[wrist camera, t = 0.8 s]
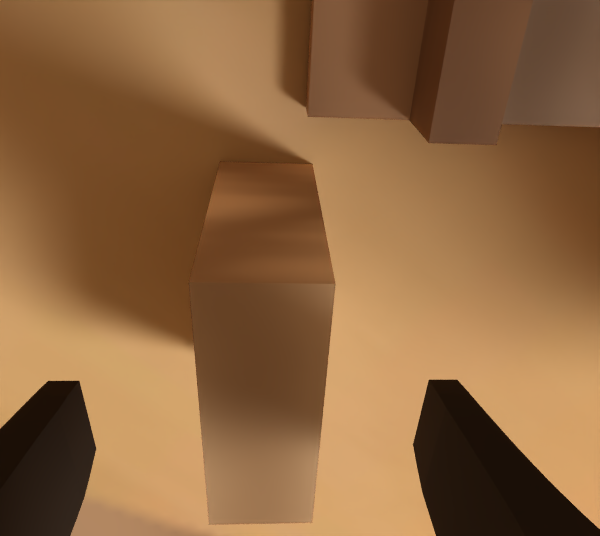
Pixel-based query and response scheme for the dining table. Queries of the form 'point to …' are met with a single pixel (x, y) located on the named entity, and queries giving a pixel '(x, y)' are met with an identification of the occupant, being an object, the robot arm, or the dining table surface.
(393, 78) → the walnut sill track
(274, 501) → the brown wooden block
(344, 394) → the dining table surface
